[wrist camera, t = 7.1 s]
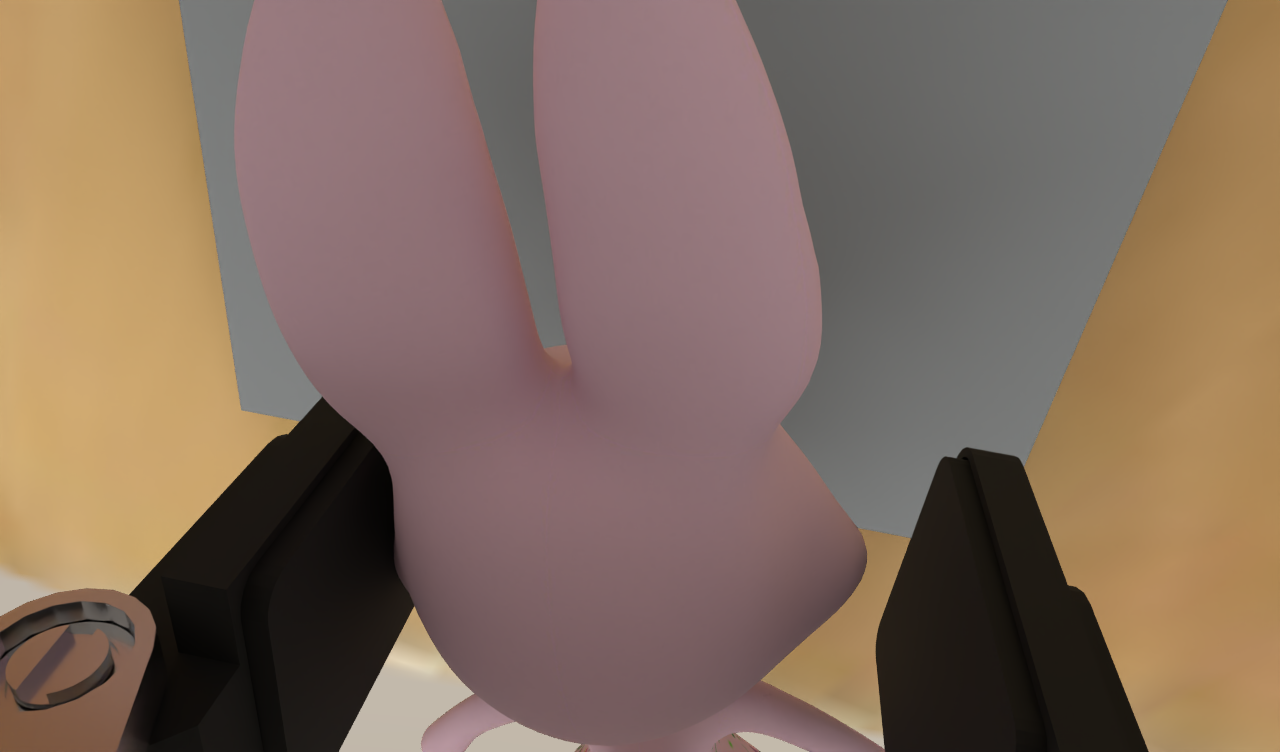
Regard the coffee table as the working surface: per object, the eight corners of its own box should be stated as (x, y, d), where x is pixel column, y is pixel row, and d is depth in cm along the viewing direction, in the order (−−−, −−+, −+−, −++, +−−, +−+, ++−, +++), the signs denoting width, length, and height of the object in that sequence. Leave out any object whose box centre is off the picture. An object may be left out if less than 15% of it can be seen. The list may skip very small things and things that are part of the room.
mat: (148, -337, 16) (122, -344, 15) (1294, -193, 14) (1315, -195, 14) (253, 398, 24) (239, 412, 24) (982, 536, 23) (986, 555, 22)
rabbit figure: (876, 780, 15) (975, -302, 6) (908, 1264, 11) (1577, -130, 1) (531, 754, 16) (155, -182, 7) (428, 1179, 12) (-1029, 125, 2)
